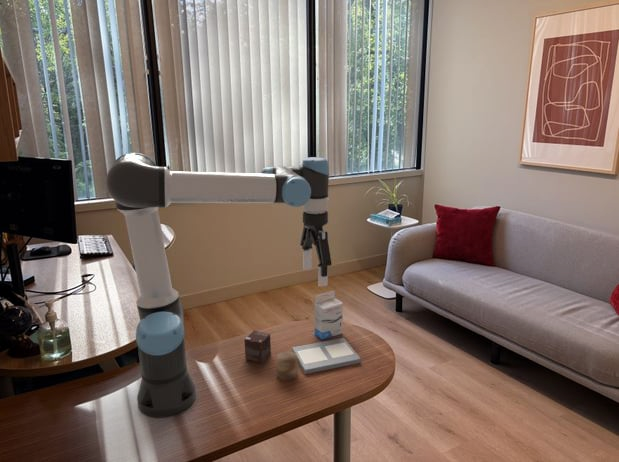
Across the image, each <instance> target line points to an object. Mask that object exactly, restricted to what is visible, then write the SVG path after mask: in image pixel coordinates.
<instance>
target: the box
mask: <svg viewBox="0 0 619 462" xmlns="http://www.w3.org/2000/svg"><path fill="white" fill-rule="evenodd" d="M243 339H244V353H245V355H244V356H245V360H246V361H251V362H255V363H259V364H263V363H264V362H265V361H266V360H267V359H268V358H269V357H270V356H271V354H272V347H271V345H272V344H271V334H269V333H266V332H262V331H258V330H253V331H252V332H251V333H250V334H248V336H246V337H245V338H243Z"/></svg>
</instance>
